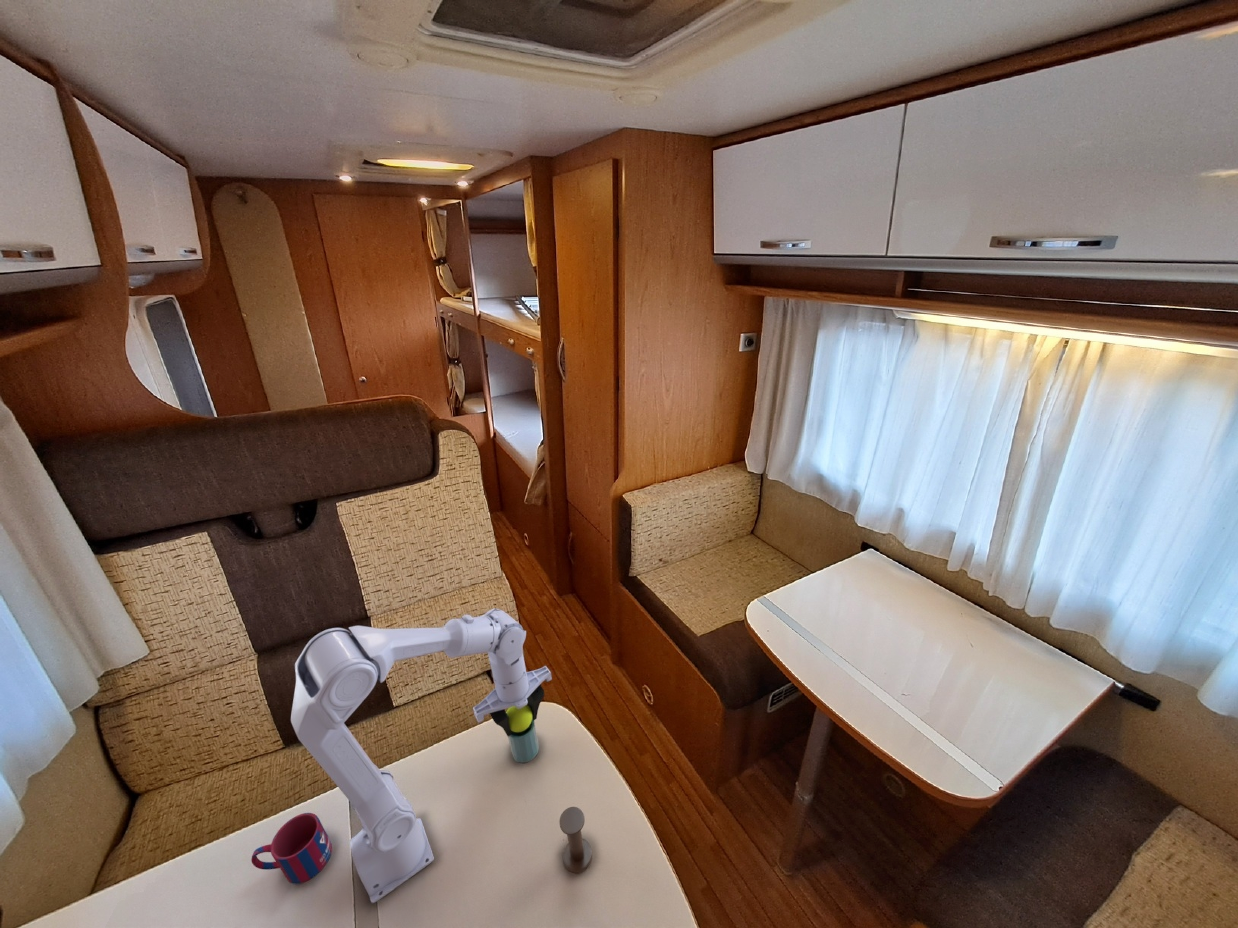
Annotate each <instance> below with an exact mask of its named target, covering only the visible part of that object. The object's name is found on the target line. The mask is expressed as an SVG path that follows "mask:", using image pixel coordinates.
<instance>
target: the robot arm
mask: <svg viewBox="0 0 1238 928" xmlns="http://www.w3.org/2000/svg"><path fill="white" fill-rule="evenodd" d="M526 638H527V630H524V628H523V626H522V625H521V624H520V623H519V622H518V621H516V620H515V619H514V618H513V617H512V616H510V615H509V614H508V613H507V612H506V611H504V610H502V609H500V608H491V609H489V610H488V611H486V612H484V614H481V615H479V616H471V614H463V615H462V617H459V618H452V619H449V620H448V621H447V622H446V623H445V624H444V625H443V626H441V627H410V628H409V627H407V628H377V627H371V626H365V625H353V626H349V627H348V629H346V628H343V627H332V628H328V629H325V630H323V631H320V632H319V633H317V634H316V635H314V636H313V637H312V638H311V639H310V640H309V641H308V642H307V644H305V646H304V648H303V650H302V652H301V653H300V654H299V656H298V658H297V660H296V661H295V663H294V670H295V686H294V693H293V698H292V699H293V701H292V707H291V713H290V723H291V725H292V728H293V730H294V733H295V735H296V737H297V739H298V741H299V742H300V743H301V744H302V745H303V746H304V748H305V749H306V750H307V751H308V753H309V754H310V756H312V757H313V759H314V760H315V761H316V763H318V765H319V766H320V767H321V769H323V771H324V772H325V773H326V774H327V776H328V777H329V778H330V779H331V781H332V782H333V783H334V785H336V786H337V788H338V789H339V790H340V791H341V792H342V793H343V795H344V796H345V797H346V798H347V800H348V801H349V803H350V805H351V807H352V809H353V810H354V811H355V813H356V815H357V817H358V819H359V821H360V823H361V825H362V829H360V831H359V832H358V833H356V835H354V836H353V837H352V838H350V839H349V846H350V852H351V856H352V860H353V863H354V867H355V869H356V872H357V875H358V877H359V879H360V880H361V883H362V885H363V887H364V889H365V890H366V893H367V894H368V897H369V900H370V903H371V904H376V903H377V902H378V901H380V900H381V899H382V898H384V897H385V896H386V895H388V894H390V893H391V892H392V891H394V890H395V889H397V888H398V887H399V886H400V885H402V884H403V883H405V882H406V881H408V880H409V879H410V878H411V877H414V876H415V875H416V874H417V873H419V872H420V871H422V870H423V869H424V868H425V867H427V866H429V865H430V864H431V863H433V862H434V859H435V857H434V854H433V851H432V847H431V844H430V842H429V839H428V836H427V833H426V830H425V827H424V824H423V821H422V819H421V817H417V815H416V812H415V810H414V807H413V805H412V803H411V801H409V800H408V799H407V798H405V797H404V794H403V793H402V792H401V789H400V788H399V786H398V785H397V784H398V783H396V781H395V780H394V776H393V774H392V772H390V771H389V770H385V769H381V768H379V767H378V766H377V765H376V764H374V762H373V761H372V760H371V758H370V756H369V755H368V754H367V752H366V751H365V750H364V748H363V747H362V745H361V744H360V742H359V741H358V740H357V739H356V737H355V736H354V735H353V734H352V732H351V730H350V729H349V728H348V726H347V725H346V723H345V722H346V721H347V720H348V719H349V718H350V717H351V716H352V714H353V713H354V712H355V711H356V710H357V709H358V708H359V706H360V705H361V704H362V703H363V702H364V700H366V699H367V697H368V696H369V695H370V694H371V692H372V691H373V690H374V688H375V686H376V684H377V682H378V681H379V683H380V684H382V683H384V682H385V680H386V679H387V677H388V674H389V673H390V672H391V669H392V667H393V665H394V664H395V663H396V662H400V661H404V660H409V659H414V658H418V657H422V656H428V655H432V654H437V653H441V652H444V654H445V655H446V656H447V657H449V658H451V659H453V658H460V657H466V656H467V657H468V656H474V655H480V654H487V656H488V660H489V664H490V670H491V673H492V678H493V682H494V689H492V691H490V693H488V695H486V697H484V698H483V699H482V700H481V701H480V702H479V703H478V704H476V705H475V706H473V707H472V712H473V715H474V717H475V720H476V721H477V723H478V724H479V723H482V722H483V721H485V717H486V716H487V715H490V717H491V719H492V721H493V722H494V724H496V725H497V726H499V727H500V728H502V729H503V731H504V733H505V735H506V736H507V737H508V736H510V735H511V730H510V727H509V716H508V715H507V713H506V712H507V711H506V709H508V708H510V707H513V706H516V708H517V709H520V708H522V707H524V706H525V705H528V706H529V707H530V708H531V710H532V719H533V720H534V721H535V720H537V718H538V713H539V712H538V711H539V708H540V705H541V702H542V700H543V699H544V697H545V689H544V688H543V687H542V683H543V682H547V683H548V682H550V681H552V680H553V678H552V677H553V676H552V672H551V670H550V669H549V668H548V667H547V665H544V666H542V667H541V668H538V669H535V670H531V671H527V668H526V663H525V657H524V656H525V655H524V649H523V646H524V643H525V641H526Z"/></svg>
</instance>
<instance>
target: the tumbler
mask: <svg viewBox="0 0 1238 928" xmlns="http://www.w3.org/2000/svg"><path fill="white" fill-rule="evenodd" d="M507 738H508V739H507V740H508V743H509V747H510V752H511V755H512V759H514V761H516V762H517V763H521V764H525V763H528V762H531V761H532V760H534V759H535V758H536V756H537V755H538V753H539V750H540V744H539V739H538V734H537V727H536V723H535V720H533V719H532V721H531V724H530V725H529V727H528V728H527V729H526V730H524V731H522V732H513V731H511V735H510V736H507Z"/></svg>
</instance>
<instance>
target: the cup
mask: <svg viewBox="0 0 1238 928" xmlns="http://www.w3.org/2000/svg"><path fill="white" fill-rule="evenodd" d="M271 841H272V842H271V843H270V844H265V845H261V846H260V847H257V848H256V849H255V850H254V851H253V852H252V855H251V860H250V861H251V864H252V865H253V866H254V867H255V868H257V869H259V870H264V871H265V870H268V871H269V870H278V869H280V870H281V873H283V876H284V877H285V879H286V881H288V882H289V883H290V884H294V885H297V884H298V885H299V884H300V885H301V884H303V883H306V882H308V881H310V880H312V879H313V878H314V877H316V876H317V875H318V874H319V873H320V872H321V871H322V870H323V869H324V868H325V866H326V865H327V864H328V862H329V860H330V858H331V856H332V852H333V843H332V841H331V839H330V837H329V835H328V833H327V831H326V829H325V828H324V826H323V823H322V822H321V820H320V818H319V817H318V816H317V815H316V813H313V812H304V813H300V814H298V815H296V816H294V817H292V818H291V819H289V820H288V821H286V822H285V823H284V824H283V825H282V826H281V827H280V828H279V829H278V830H277V832H276V833H275V835H274V837H273V838H272V840H271ZM265 853H270V854H271V856H272V858H273V859H274V861H263V860H260V859H259V857H258V855H260V854H265Z"/></svg>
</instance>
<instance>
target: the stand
mask: <svg viewBox="0 0 1238 928" xmlns="http://www.w3.org/2000/svg"><path fill="white" fill-rule="evenodd" d="M558 823H559V828H560V830H561V832H562V833H563V834H564V835H566V838H567V843H566V845H565V846H564V849H563V852H562V860H563V864H564V867H565V868H566V869H567V870H568V872H570V873H573V874H580V873H583V872H584V871H586V870H587V869H588V867H589V866H590V865H591V862H592V859H593V849H592V847H591V844H590V842H588V840H586V839H585V838H583V835H582V829H583V828H584V826H585V814H584V812H583V810H582V809H580V808H579V807H576V806H570V807H567V808H566V809H564V810H563V811H562V813H561V814H560V817H559V821H558Z"/></svg>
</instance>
